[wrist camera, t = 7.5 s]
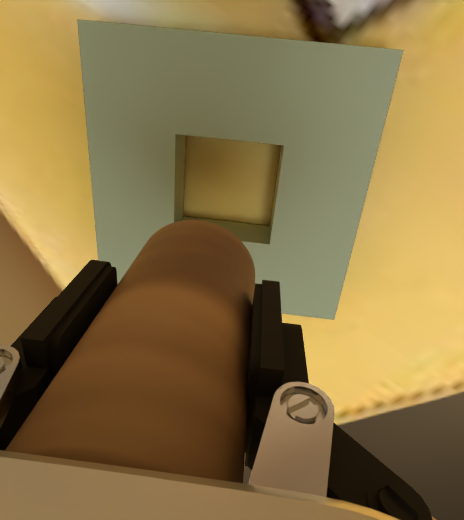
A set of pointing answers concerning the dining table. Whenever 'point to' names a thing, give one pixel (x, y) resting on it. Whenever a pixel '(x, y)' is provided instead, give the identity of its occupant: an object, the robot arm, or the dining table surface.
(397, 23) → the dining table surface
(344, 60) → the socket board
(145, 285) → the walnut peg
